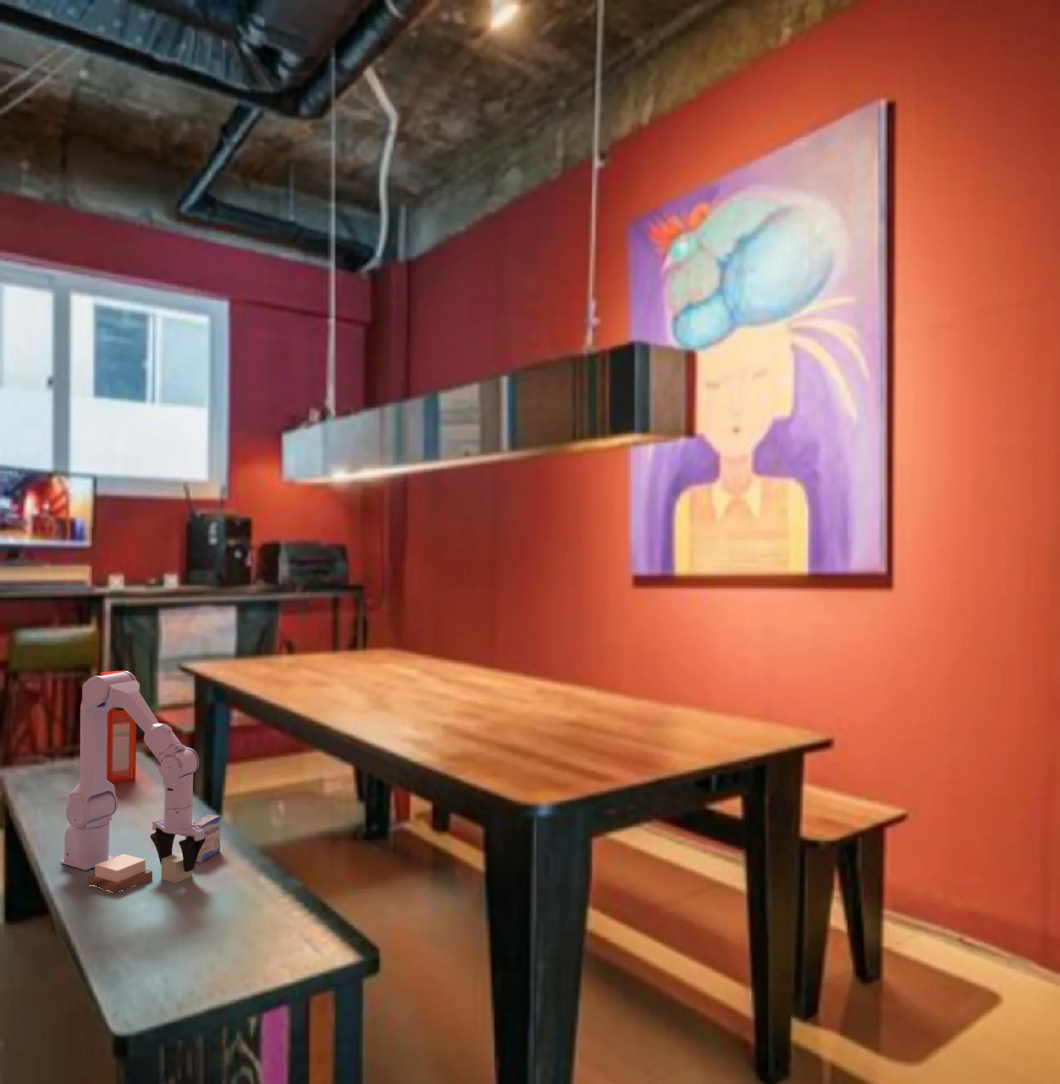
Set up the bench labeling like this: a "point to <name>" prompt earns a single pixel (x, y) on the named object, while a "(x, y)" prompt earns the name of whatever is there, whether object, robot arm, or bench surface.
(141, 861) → the cream top slab
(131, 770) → the file binder
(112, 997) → the bench surface
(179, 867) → the beige cube
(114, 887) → the walnut base slab
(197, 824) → the medicine box
